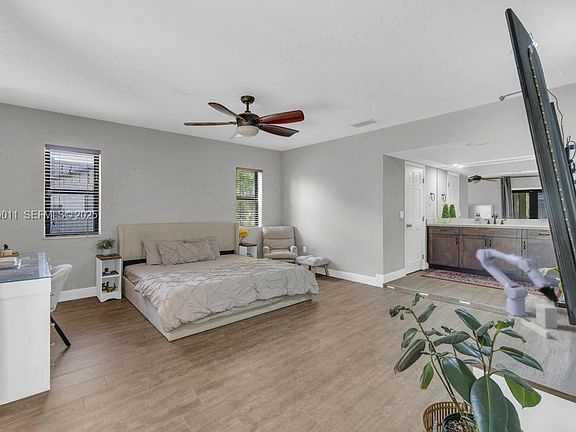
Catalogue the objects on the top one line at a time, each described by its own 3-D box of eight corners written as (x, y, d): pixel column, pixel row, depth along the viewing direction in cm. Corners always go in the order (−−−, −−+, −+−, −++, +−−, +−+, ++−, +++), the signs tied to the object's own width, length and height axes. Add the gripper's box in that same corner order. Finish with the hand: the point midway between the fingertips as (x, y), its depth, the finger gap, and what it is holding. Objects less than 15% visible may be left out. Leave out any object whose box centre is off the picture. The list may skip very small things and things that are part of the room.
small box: (557, 328, 155) (557, 308, 155) (545, 328, 156) (544, 308, 156) (547, 323, 163) (547, 303, 163) (536, 322, 164) (535, 303, 164)
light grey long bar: (520, 322, 165) (519, 316, 165) (523, 322, 165) (522, 316, 165) (546, 338, 144) (546, 331, 144) (550, 338, 144) (549, 331, 144)
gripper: (541, 272, 161) (560, 296, 153) (548, 276, 169) (566, 299, 161) (527, 279, 164) (545, 302, 156) (534, 282, 173) (552, 304, 165)
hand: (555, 301), depth 159 cm, fingers open, 7 cm apart
